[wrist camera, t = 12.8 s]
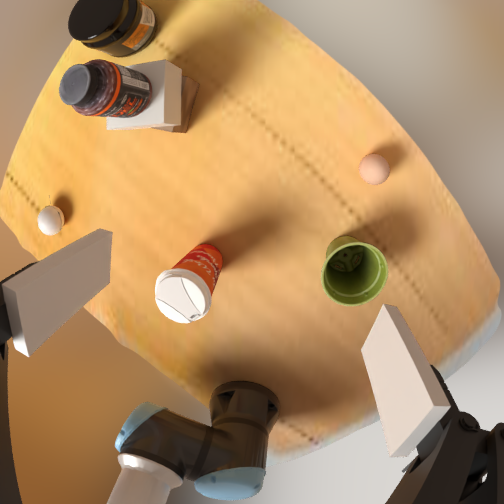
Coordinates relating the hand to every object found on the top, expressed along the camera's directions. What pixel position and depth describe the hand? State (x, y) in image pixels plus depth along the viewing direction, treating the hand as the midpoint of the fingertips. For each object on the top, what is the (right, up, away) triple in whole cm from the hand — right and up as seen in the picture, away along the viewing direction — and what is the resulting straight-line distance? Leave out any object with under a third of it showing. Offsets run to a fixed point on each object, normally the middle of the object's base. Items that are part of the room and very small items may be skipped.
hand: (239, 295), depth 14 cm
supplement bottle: (-14, +21, +18) cm, 30 cm away
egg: (+18, +15, +29) cm, 37 cm away
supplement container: (-20, +39, +25) cm, 50 cm away
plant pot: (+15, +2, +34) cm, 37 cm away
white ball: (-37, +10, +37) cm, 53 cm away
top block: (-13, +23, +23) cm, 35 cm away
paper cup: (-7, +1, +37) cm, 38 cm away
